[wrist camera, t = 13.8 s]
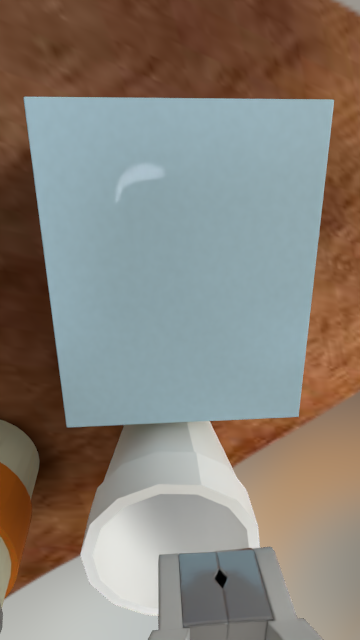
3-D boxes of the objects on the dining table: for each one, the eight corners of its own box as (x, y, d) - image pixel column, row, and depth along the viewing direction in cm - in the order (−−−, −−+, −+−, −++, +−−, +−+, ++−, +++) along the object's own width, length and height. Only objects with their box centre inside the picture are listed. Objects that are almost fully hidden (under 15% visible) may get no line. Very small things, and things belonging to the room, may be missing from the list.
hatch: (293, 409, 21) (298, 417, 21) (69, 419, 21) (66, 428, 20) (325, 104, 16) (334, 99, 15) (29, 102, 15) (22, 96, 15)
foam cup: (110, 454, 31) (81, 616, 19) (113, 363, 28) (79, 482, 16) (212, 457, 32) (248, 613, 20) (225, 368, 29) (275, 486, 17)
